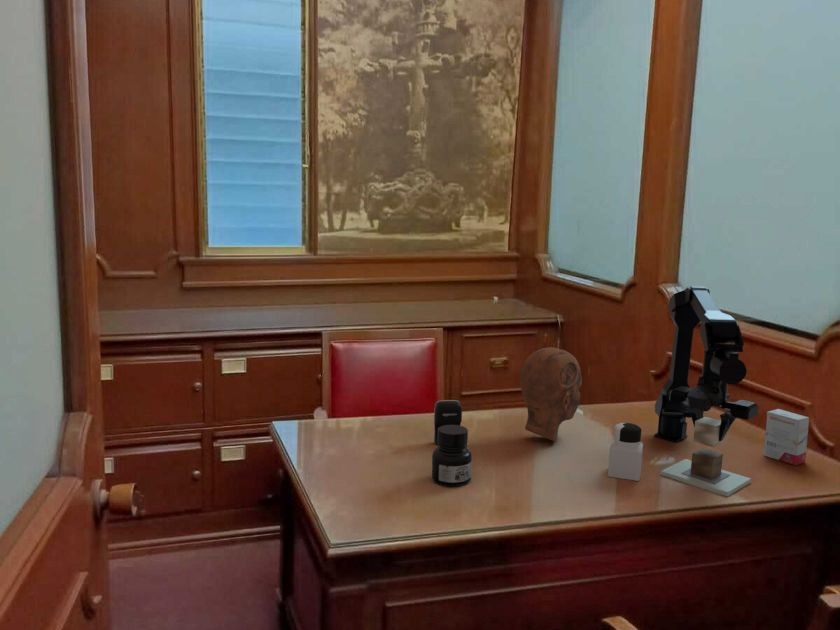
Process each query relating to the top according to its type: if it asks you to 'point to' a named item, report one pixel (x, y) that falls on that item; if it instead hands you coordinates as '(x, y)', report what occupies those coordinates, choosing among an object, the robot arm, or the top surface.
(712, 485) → the board
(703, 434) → the maple cube
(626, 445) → the medicine bottle
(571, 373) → the head sculpture
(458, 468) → the ink bottle
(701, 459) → the walnut cube
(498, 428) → the top surface
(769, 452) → the ink box
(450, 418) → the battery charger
